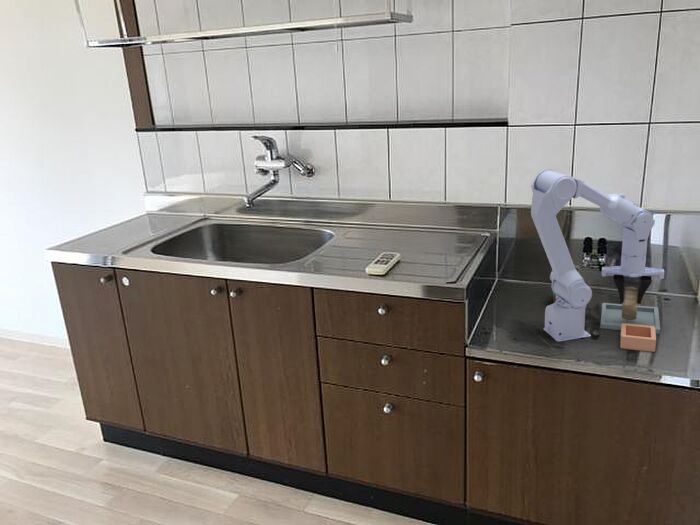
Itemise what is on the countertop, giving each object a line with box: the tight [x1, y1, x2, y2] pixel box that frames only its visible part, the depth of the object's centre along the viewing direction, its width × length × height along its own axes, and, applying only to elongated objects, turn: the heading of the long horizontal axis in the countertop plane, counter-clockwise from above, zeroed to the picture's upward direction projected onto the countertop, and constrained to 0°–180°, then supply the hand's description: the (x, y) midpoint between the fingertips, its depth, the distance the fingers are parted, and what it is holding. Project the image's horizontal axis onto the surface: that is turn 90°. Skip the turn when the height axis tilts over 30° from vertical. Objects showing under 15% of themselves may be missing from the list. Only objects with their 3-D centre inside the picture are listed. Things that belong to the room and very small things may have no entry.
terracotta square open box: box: [619, 323, 657, 353], centre depth 147 cm, size 8×8×4 cm
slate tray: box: [599, 302, 661, 335], centre depth 159 cm, size 14×14×2 cm
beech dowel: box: [621, 286, 639, 320], centre depth 156 cm, size 4×4×8 cm
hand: (630, 301), depth 156 cm, fingers closed on beech dowel, 4 cm apart
